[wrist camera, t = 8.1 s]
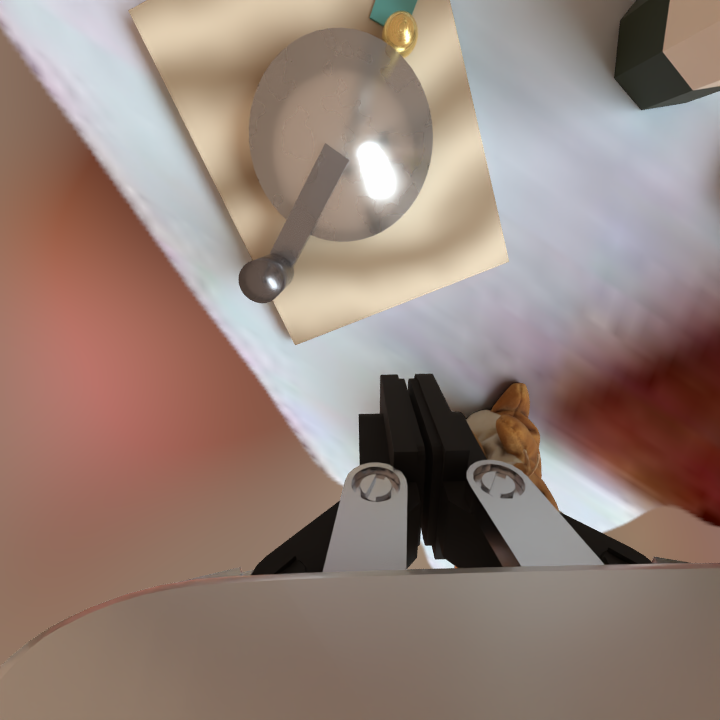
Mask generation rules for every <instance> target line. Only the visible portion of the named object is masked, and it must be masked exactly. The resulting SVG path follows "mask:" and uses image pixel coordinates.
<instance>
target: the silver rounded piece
mask: <svg viewBox="0 0 720 720" xmlns="http://www.w3.org/2000/svg"><path fill="white" fill-rule="evenodd" d="M417 39H418V27H417V23H416V21H415V19H414V17H413V16H412V15H411V14H410V13H409V12H407V11H402V10H400V11H396V12H394V13H393V14H391V15H390V16H389V17H388V19H387V20H386V22H385V24H384V27H383V31H382V40H381V39H379V38H377V37H375V36H373V35H371V34H369V33H366V32H363V31H359V30H356V29H349V28H327V29H322V30H317V31H314V32H312V33H309V34H306V35H304V36H302V37H300V38H299V39H297V40H295V41H294V42H292V43H291V44H289V45H288V46H287V47H286V48H285V49H283V50H282V51H281V52H280V53H279V54H278V55H277V56H276V58H275V59H274V60H273V61H272V62H271V64H270V65H269V67H268V68H267V70H266V71H265V72H264V74H263V76H262V78H261V80H260V82H259V84H258V87H257V89H256V92H255V95H254V98H253V102H252V107H251V111H250V119H249V146H250V153H251V158H252V162H253V166H254V170H255V173H256V175H257V178H258V181H259V183H260V185H261V187H262V189H263V191H264V193H265V194H266V196H267V197H268V199H269V200H270V202H271V203H272V205H273V206H274V207H275V208H276V209H277V211H278V212H279V213H280V214H281V215H282V216H283V217H284V218H285V219H286V222H285V224H284V226H283V228H282V230H281V232H280V234H279V236H278V238H277V240H276V242H275V244H274V246H273V248H272V250H271V252H270V254H268V255H265V256H263V257H260V258H258V259H256V260H253V261H251V262H248V263H247V264H245V265H244V266H243V268H242V269H241V271H240V274H239V285H240V288H241V290H242V292H243V293H244V295H245V296H246V297H247V298H249V299H250V300H252V301H254V302H258V303H267V302H270V301H272V300H274V299H275V298H276V297H277V296H278V295H279V294H280V293H281V292H282V291H283V290H284V289H285V288H286V287H287V286H288V285H289V284H290V283H291V281H292V280H293V277H294V265H295V264H296V262H297V260H298V258H299V256H300V254H301V252H302V250H303V249H304V247H305V245H306V243H307V241H308V239H309V237H310V236H311V235H312V236H315V237H317V238H320V239H324V240H329V241H337V242H349V241H357V240H362V239H365V238H368V237H371V236H374V235H376V234H378V233H380V232H382V231H384V230H385V229H387V228H388V227H390V226H392V225H393V224H394V223H395V222H396V221H398V220H399V219H400V218H401V217H402V216H403V215H404V214H405V213H406V211H407V210H408V209H409V208H410V207H411V205H412V204H413V202H414V201H415V199H416V198H417V196H418V194H419V192H420V190H421V189H422V187H423V184H424V181H425V179H426V176H427V173H428V170H429V166H430V162H431V155H432V148H433V128H432V119H431V113H430V108H429V104H428V101H427V98H426V95H425V92H424V90H423V88H422V86H421V83H420V81H419V79H418V78H417V76H416V74H415V73H414V71H413V69H412V68H411V67H410V65H409V64H408V63H407V62H406V60H405V59H404V58H406V57H407V56H409V55H410V54H411V53H412V51H413V50H414V48H415V46H416V43H417Z"/></svg>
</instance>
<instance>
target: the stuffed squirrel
mask: <svg viewBox="0 0 720 720" xmlns="http://www.w3.org/2000/svg"><path fill="white" fill-rule="evenodd" d="M529 408H530V401H529V394H528V390H527V387H526V385H525V384H523V383H513V384H512V385H511V386H510V387H509V388H508V389H507V390H506V391H505V392H504V393H503V395H502V396H501V397H500V398H499V400H498V401H497V402H496V403H495V405H494V406H493V408H492V410H491V411H490V410H481V411H478V412H475V413H473V414H471V415H470V416H469V417H468V418H467V419H466V421H467V423H468V425H469V426H470V428H471V430H472V432H473V434H474V436H475V438H476V440H477V441H478V443H479V445H480V447H481V449H482V451H483V453H484V454H485V456H486V458H487V460H496V461H502V462H505V463H508V464H510V465H513V466H514V467H516V468H518V469H519V470H521V471H522V472H523V473H524V474H525V475H526V476H528V478H529V479H530V480H531V481H532V482H533V483H534V484H535V486H536V487H537V488H538V489H539V490H540V491H541V492H542V494H543V495H544V496H545V497H546V498H547V499H548V500H549V502H550V503H551V504H552V505H553V506H554V507H555V508H556V510H557V511H559V510H558V506H557V504H556V502H555V500H554V498H553V496H552V494H551V492H550V491H549V489H548V488H547V486H546V484H545V483H544V482H543V480H542V479H541V476H542V474H541V458H540V452H539V443H540V434H539V432H538V430H537V428H536V427H535V425H534V424H533V423H532V422H531V421H530V420H529V419H528V415H529ZM559 512H561V511H559ZM561 513H562V512H561Z"/></svg>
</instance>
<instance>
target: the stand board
mask: <svg viewBox="0 0 720 720" xmlns="http://www.w3.org/2000/svg"><path fill="white" fill-rule="evenodd" d="M400 10H402V11H407V12H409V13H410V14H411V15H412V16H413V17H414V19H415V21H416V23H417V27H418V39H417V43H416V46H415V48H414V50H413V51H412V53H411V54H410V55H409V56H407V57H406V58H404V59H405V60H406V62H407V63H408V64H409V65H410V67H411V68H412V69H413V71H414V73H415V74H416V76H417V78H418V79H419V81H420V83H421V86H422V88H423V90H424V92H425V95H426V98H427V101H428V104H429V108H430V113H431V119H432V128H433V148H432V155H431V162H430V166H429V170H428V173H427V176H426V179H425V181H424V184H423V187H422V189H421V190H420V192H419V194H418V196H417V198H416V199H415V201H414V202H413V204H412V205H411V207H410V208H409V209H408V210H407V211H406V213H405V214H404V215H403V216H402V217H401V218H400V219H399V220H398V221H396V222H395V223H394V224H393V225H392V226H390V227H388V228H387V229H385V230H384V231H382V232H380V233H378V234H376V235H374V236H371V237H368V238H365V239H362V240H357V241H349V242H337V241H329V240H324V239H320V238H317V237H315V236H312V235H311V236H310V237H309V239H308V241H307V243H306V245H305V247H304V249H303V250H302V252H301V254H300V256H299V258H298V260H297V262H296V264H295V265H294V277H293V280H292V281H291V283H290V284H289V285H288V286H287V287H286V288H285V289H284V290H283V291H282V292H281V293H280V294H279V295H278V296H277V297H276V298H275V299H274V300H273V302H274V304H275V306H276V308H277V310H278V312H279V314H280V316H281V318H282V320H283V322H284V324H285V326H286V328H287V330H288V332H289V334H290V336H291V338H292V340H293V342H294V344H295V345H297V344H300V343H302V342H305V341H307V340H310V339H313V338H315V337H318V336H320V335H323V334H325V333H328V332H330V331H333V330H336V329H338V328H341V327H343V326H346V325H348V324H351V323H353V322H356V321H359V320H361V319H364V318H366V317H369V316H371V315H374V314H376V313H379V312H382V311H384V310H387V309H389V308H392V307H394V306H397V305H399V304H402V303H405V302H407V301H410V300H412V299H415V298H417V297H420V296H422V295H425V294H428V293H430V292H433V291H435V290H438V289H440V288H443V287H445V286H448V285H451V284H453V283H456V282H458V281H461V280H463V279H466V278H468V277H471V276H473V275H476V274H479V273H481V272H484V271H486V270H489V269H491V268H494V267H496V266H499V265H502V264H504V263H507V262H509V259H508V254H507V250H506V246H505V241H504V237H503V232H502V228H501V224H500V219H499V215H498V211H497V206H496V202H495V197H494V193H493V189H492V184H491V180H490V175H489V171H488V167H487V162H486V158H485V153H484V149H483V145H482V140H481V136H480V131H479V127H478V123H477V118H476V114H475V109H474V105H473V101H472V96H471V92H470V87H469V83H468V79H467V74H466V70H465V65H464V61H463V57H462V52H461V48H460V43H459V39H458V35H457V30H456V26H455V21H454V17H453V13H452V8H451V4H450V0H147V1H145V2H143V3H141V4H139V5H138V6H136V7H134V8H132V9H130V10H129V13H130V15H131V17H132V19H133V21H134V23H135V25H136V27H137V29H138V31H139V33H140V35H141V37H142V39H143V41H144V43H145V45H146V47H147V49H148V51H149V53H150V55H151V57H152V59H153V61H154V63H155V65H156V67H157V69H158V71H159V73H160V75H161V77H162V79H163V81H164V83H165V85H166V87H167V89H168V91H169V93H170V95H171V97H172V99H173V101H174V103H175V105H176V107H177V109H178V111H179V113H180V115H181V117H182V119H183V121H184V123H185V125H186V127H187V129H188V131H189V133H190V135H191V137H192V139H193V141H194V143H195V145H196V147H197V149H198V151H199V153H200V155H201V157H202V159H203V161H204V163H205V165H206V167H207V169H208V171H209V173H210V175H211V177H212V179H213V182H214V184H215V186H216V188H217V190H218V192H219V194H220V196H221V198H222V200H223V202H224V204H225V206H226V208H227V210H228V212H229V214H230V216H231V218H232V220H233V222H234V224H235V226H236V228H237V230H238V232H239V234H240V236H241V238H242V240H243V242H244V244H245V246H246V248H247V250H248V252H249V254H250V256H251V258H252V260H256V259H258V258H260V257H263V256H265V255H268V254H270V252H271V250H272V248H273V246H274V244H275V242H276V240H277V238H278V236H279V234H280V232H281V230H282V228H283V226H284V224H285V222H286V219H285V218H284V217H283V216H282V215H281V214H280V213H279V212H278V211H277V209H276V208H275V207H274V206H273V205H272V203H271V202H270V200H269V199H268V197H267V196H266V194H265V193H264V191H263V189H262V187H261V185H260V183H259V181H258V178H257V175H256V173H255V170H254V166H253V162H252V158H251V153H250V146H249V119H250V111H251V107H252V102H253V98H254V95H255V92H256V89H257V87H258V84H259V82H260V80H261V78H262V76H263V74H264V72H265V71H266V70H267V68H268V67H269V65H270V64H271V62H272V61H273V60H274V59H275V58H276V56H277V55H278V54H279V53H280V52H281V51H282V50H283V49H285V48H286V47H287V46H288V45H289V44H291V43H292V42H294V41H295V40H297V39H299V38H300V37H302V36H304V35H306V34H309V33H312V32H314V31H317V30H322V29H327V28H349V29H356V30H359V31H363V32H366V33H369V34H371V35H373V36H375V37H377V38H379V39H381V40H382V31H383V27H384V24H385V22H386V20H387V19H388V17H389V16H390V15H391V14H393V13H394V12H396V11H400Z"/></svg>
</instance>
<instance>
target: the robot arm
mask: <svg viewBox="0 0 720 720" xmlns="http://www.w3.org/2000/svg"><path fill="white" fill-rule="evenodd" d="M359 452H360V466H358V467H356V468H354V469H353V470H352V471H351V472H350V473H349V474H348V475H347V478H346V480H345V483H344V487H343V491H342V495H341V500H340V501H339V502H337V503H336V504H335V505H334V506H332V507H331V508H330V509H328V510H327V511H326V512H324V513H323V514H321V515H320V516H319V517H318V518H316V519H315V520H314V521H312V522H311V523H310V524H308V525H307V526H306V527H304V528H303V529H302V530H300V531H299V532H298V533H296V534H295V535H294V536H292V537H291V538H290V539H289V540H287V541H286V542H285V543H283V544H282V545H281V546H279V547H278V548H277V549H275V550H274V551H273V552H272V553H270V554H269V555H267V556H266V557H265V558H264V559H263V560H262V561H261V562H260V563H259V564H258V565H257V566H256V568H255V569H254V570H251V571H247V572H243V573H242V570H241V567H239V568H235V569H231V570H227V571H222V572H218V573H214V574H210V575H206V576H202V577H198V578H193V579H189V580H185V581H181V582H177V583H170V584H164V585H159V586H155V587H151V588H147V589H143V590H140V591H135V592H132V593H128V594H125V595H122V596H119V597H117V598H114V599H111V600H109V601H106V602H103V603H100V604H98V605H95V606H92V607H90V608H87V609H85V610H83V611H81V612H79V613H77V614H75V615H73V616H70V617H68V618H66V619H64V620H63V621H61V622H59V623H57V624H55V625H53V626H51V627H50V628H48V629H46V630H45V631H44V632H42V633H41V634H39V635H38V636H36V637H35V638H33V639H32V640H30V641H29V642H28V643H26V644H25V645H24V646H23V647H21V648H20V649H19V650H18V651H17V652H16V653H14V654H13V655H12V656H10V658H8V659H7V660H6V661H5V662H4V663H3V664H2V665H1V666H0V720H720V563H688V562H682V561H677V560H671V559H664V558H659V557H654V558H653V560H652V562H651V561H650V560H649V559H648V558H646V557H645V556H644V555H642V554H641V553H639V552H637V551H636V550H634V549H632V548H631V547H629V546H627V545H625V544H623V543H621V542H619V541H617V540H615V539H613V538H611V537H608V536H607V535H605V534H603V533H601V532H599V531H597V530H595V529H593V528H591V527H589V526H587V525H585V524H583V523H581V522H579V521H577V520H575V519H573V518H571V517H569V516H567V515H565V514H563V513H561V512H559V511H557V510H556V508H555V507H554V506H553V505H552V504H551V503H550V502H549V500H548V499H547V498H546V497H545V496H544V495H543V494H542V492H541V491H540V490H539V489H538V488H537V487H536V486H535V484H534V483H533V482H532V481H531V480H530V479H529V478H528V476H526V475H525V474H524V473H523V472H522V471H521V470H519V469H518V468H516V467H514V466H513V465H510V464H508V463H505V462H502V461H496V460H487V458H486V456H485V454H484V453H483V451H482V449H481V447H480V445H479V443H478V441H477V440H476V438H475V436H474V434H473V432H472V430H471V428H470V426H469V425H468V423H467V421H466V419H465V417H464V415H463V414H462V413H461V412H451V411H450V408H449V406H448V404H447V402H446V400H445V398H444V396H443V394H442V392H441V390H440V388H439V386H438V384H437V382H436V380H435V378H434V376H433V374H415V376H414V379H409V380H408V390H407V386H406V383H405V380H404V379H399V378H398V375H381V376H380V414H359ZM421 530H422V535H423V540H424V544H425V545H426V546H429V545H432V549H433V553H434V558H435V559H446V560H448V561H449V562H451V563H452V564H453V565H455V566H454V568H447V569H413V570H412V569H411V570H406V569H407V568H408V567H409V566H410V565H411V564H412V563H413V561H414V560H415V559H416V558H417V549H418V546H419V545H420V534H421Z"/></svg>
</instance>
